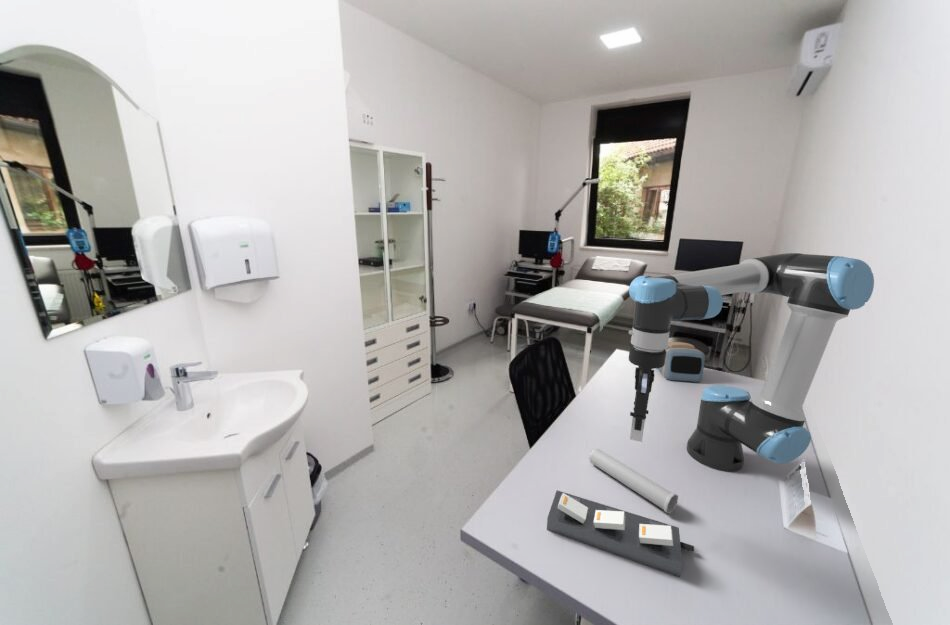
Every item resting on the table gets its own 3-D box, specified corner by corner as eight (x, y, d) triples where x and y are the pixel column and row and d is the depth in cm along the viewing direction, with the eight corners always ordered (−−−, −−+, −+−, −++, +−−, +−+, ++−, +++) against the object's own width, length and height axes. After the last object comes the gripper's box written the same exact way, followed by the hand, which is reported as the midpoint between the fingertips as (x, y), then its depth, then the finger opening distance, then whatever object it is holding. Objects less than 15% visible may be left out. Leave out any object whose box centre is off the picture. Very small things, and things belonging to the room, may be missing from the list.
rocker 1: (585, 511, 88) (588, 507, 87) (583, 523, 84) (585, 519, 83) (560, 496, 90) (563, 492, 89) (557, 508, 86) (559, 503, 85)
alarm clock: (664, 380, 169) (669, 348, 165) (654, 367, 184) (658, 337, 180) (703, 383, 166) (709, 350, 162) (689, 369, 182) (694, 339, 178)
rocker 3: (672, 531, 80) (670, 525, 80) (673, 545, 76) (671, 539, 76) (640, 529, 83) (639, 523, 83) (640, 542, 79) (638, 536, 79)
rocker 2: (625, 516, 84) (624, 510, 83) (624, 530, 80) (623, 523, 80) (597, 515, 87) (595, 509, 86) (594, 527, 83) (593, 521, 83)
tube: (598, 445, 113) (680, 492, 93) (593, 461, 114) (674, 512, 93) (588, 445, 110) (670, 495, 90) (583, 462, 110) (664, 515, 90)
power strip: (691, 544, 83) (694, 530, 82) (696, 583, 74) (699, 567, 73) (555, 501, 96) (556, 488, 95) (546, 529, 87) (547, 515, 86)
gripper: (631, 336, 90) (621, 422, 95) (628, 353, 78) (617, 449, 84) (665, 340, 87) (652, 429, 92) (668, 359, 75) (653, 458, 81)
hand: (635, 438), depth 88 cm, fingers closed
